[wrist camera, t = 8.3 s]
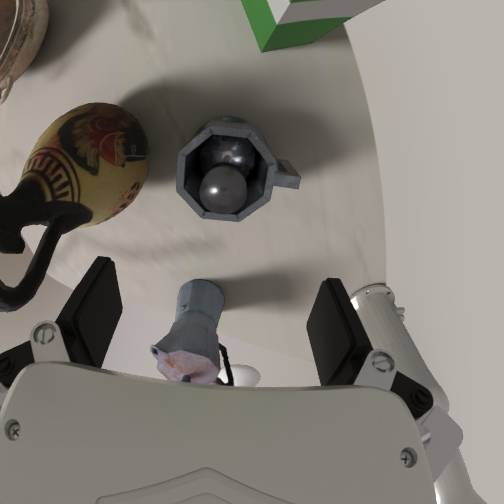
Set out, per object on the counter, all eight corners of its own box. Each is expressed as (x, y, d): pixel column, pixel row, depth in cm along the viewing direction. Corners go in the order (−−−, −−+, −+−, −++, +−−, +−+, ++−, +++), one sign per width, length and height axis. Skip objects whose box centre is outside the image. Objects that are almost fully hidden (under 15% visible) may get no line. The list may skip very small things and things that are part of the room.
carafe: (289, 124, 35) (312, 135, 25) (276, 195, 41) (291, 231, 31) (193, 113, 33) (175, 119, 23) (187, 185, 39) (170, 219, 29)
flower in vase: (224, 385, 68) (225, 468, 47) (208, 364, 62) (205, 458, 41) (270, 377, 67) (280, 463, 46) (259, 355, 61) (269, 453, 40)
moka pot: (182, 260, 46) (159, 353, 29) (250, 301, 52) (258, 393, 35) (156, 292, 49) (131, 381, 32) (221, 327, 55) (219, 413, 38)
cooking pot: (-5, 24, 15) (-44, 24, 4) (64, -32, 14) (28, -49, 3) (3, 121, 28) (-41, 137, 18) (74, 70, 27) (25, 70, 17)
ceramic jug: (62, 131, 32) (-88, 211, 6) (140, 82, 30) (-34, 88, 5) (103, 218, 41) (4, 359, 15) (182, 183, 39) (104, 347, 13)
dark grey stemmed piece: (258, 134, 33) (272, 156, 21) (250, 185, 37) (258, 234, 25) (203, 129, 32) (183, 147, 20) (198, 180, 36) (179, 227, 24)
